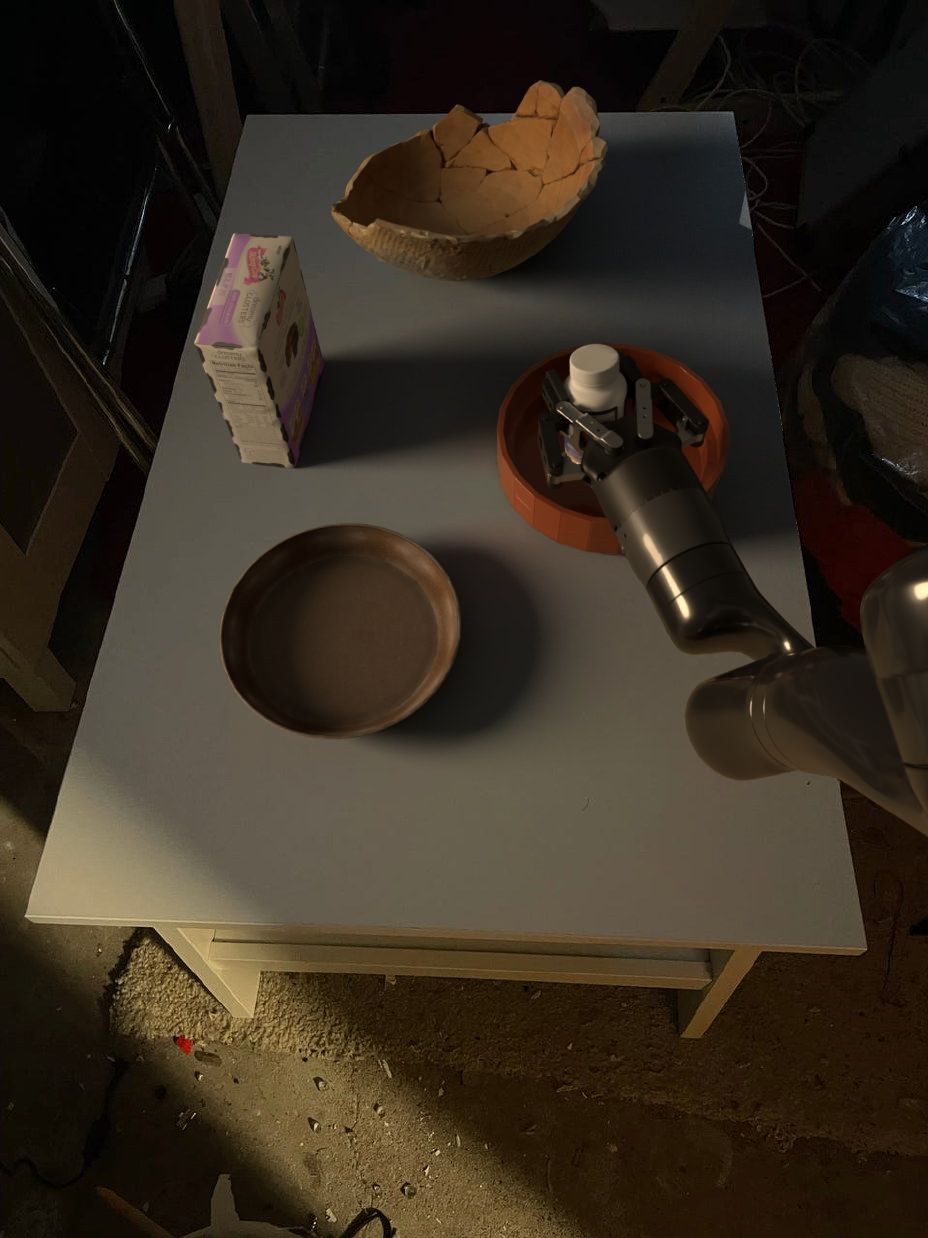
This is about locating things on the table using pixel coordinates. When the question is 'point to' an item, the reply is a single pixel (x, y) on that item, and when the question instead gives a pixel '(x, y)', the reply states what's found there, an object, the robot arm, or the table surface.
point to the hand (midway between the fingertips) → (582, 368)
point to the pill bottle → (595, 387)
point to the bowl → (519, 461)
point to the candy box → (262, 349)
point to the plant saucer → (340, 631)
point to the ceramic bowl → (477, 187)
